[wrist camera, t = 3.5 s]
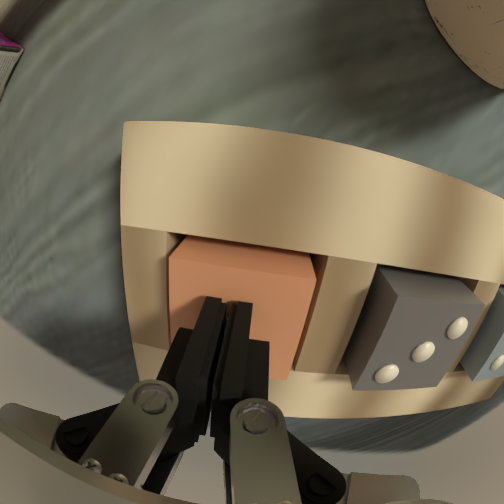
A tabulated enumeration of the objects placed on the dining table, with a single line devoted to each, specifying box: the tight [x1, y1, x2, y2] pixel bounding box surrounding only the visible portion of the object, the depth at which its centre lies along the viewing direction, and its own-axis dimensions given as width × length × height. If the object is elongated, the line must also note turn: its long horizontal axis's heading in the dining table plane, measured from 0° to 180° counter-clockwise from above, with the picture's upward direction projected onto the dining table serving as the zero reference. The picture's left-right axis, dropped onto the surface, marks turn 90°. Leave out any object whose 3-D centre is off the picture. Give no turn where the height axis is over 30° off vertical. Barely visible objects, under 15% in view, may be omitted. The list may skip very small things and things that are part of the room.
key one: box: [169, 235, 316, 380], centre depth 11 cm, size 5×5×3 cm
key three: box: [344, 263, 485, 391], centre depth 11 cm, size 5×5×3 cm
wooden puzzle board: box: [120, 121, 504, 418], centre depth 12 cm, size 26×14×3 cm, turn 83°
